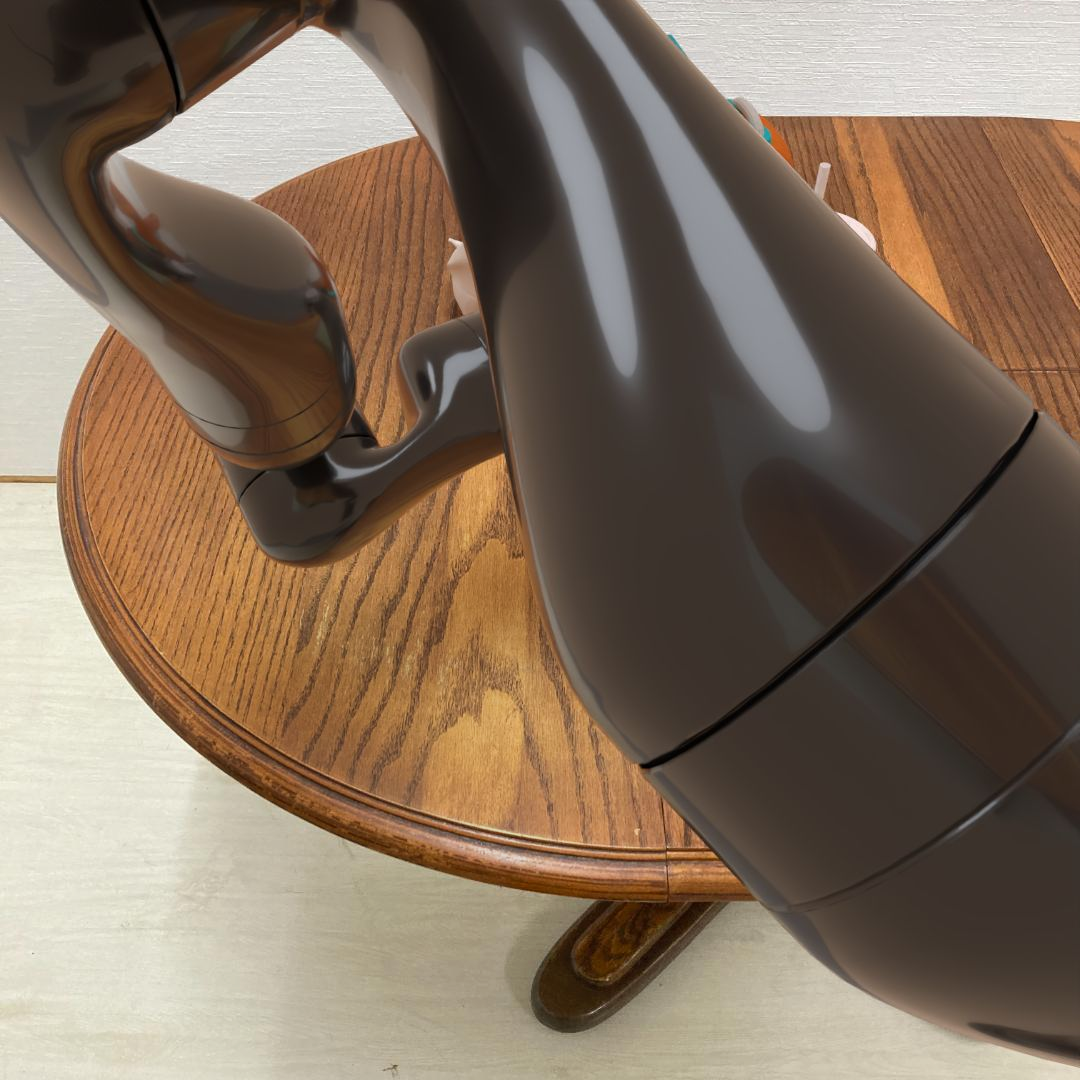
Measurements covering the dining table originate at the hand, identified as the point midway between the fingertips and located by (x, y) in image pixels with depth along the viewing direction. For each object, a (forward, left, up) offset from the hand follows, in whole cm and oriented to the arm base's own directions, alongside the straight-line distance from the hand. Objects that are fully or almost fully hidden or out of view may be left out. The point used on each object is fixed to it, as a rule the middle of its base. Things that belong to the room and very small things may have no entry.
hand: (843, 252), depth 63 cm
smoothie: (0, +2, -8) cm, 9 cm away
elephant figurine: (+26, +7, -18) cm, 32 cm away
